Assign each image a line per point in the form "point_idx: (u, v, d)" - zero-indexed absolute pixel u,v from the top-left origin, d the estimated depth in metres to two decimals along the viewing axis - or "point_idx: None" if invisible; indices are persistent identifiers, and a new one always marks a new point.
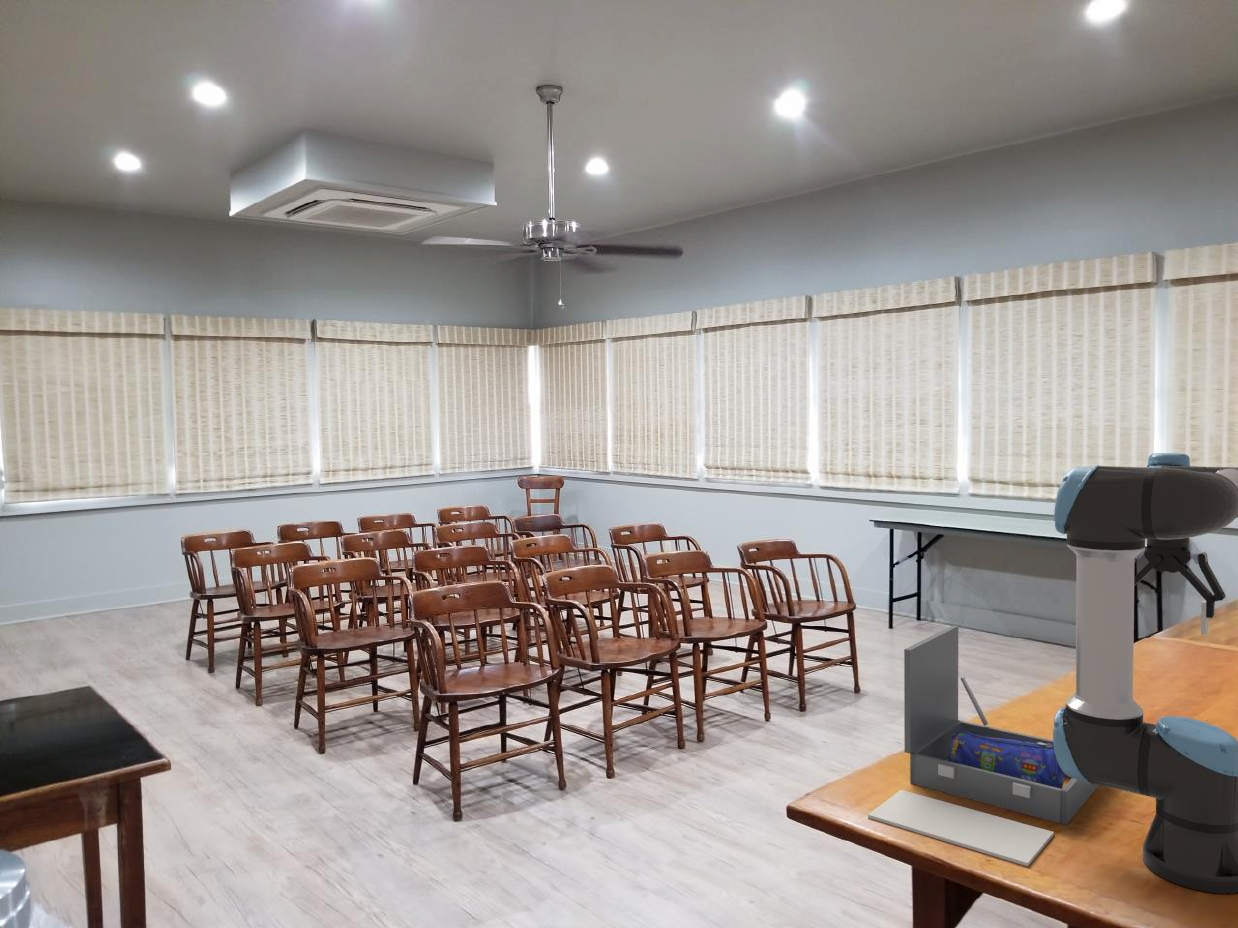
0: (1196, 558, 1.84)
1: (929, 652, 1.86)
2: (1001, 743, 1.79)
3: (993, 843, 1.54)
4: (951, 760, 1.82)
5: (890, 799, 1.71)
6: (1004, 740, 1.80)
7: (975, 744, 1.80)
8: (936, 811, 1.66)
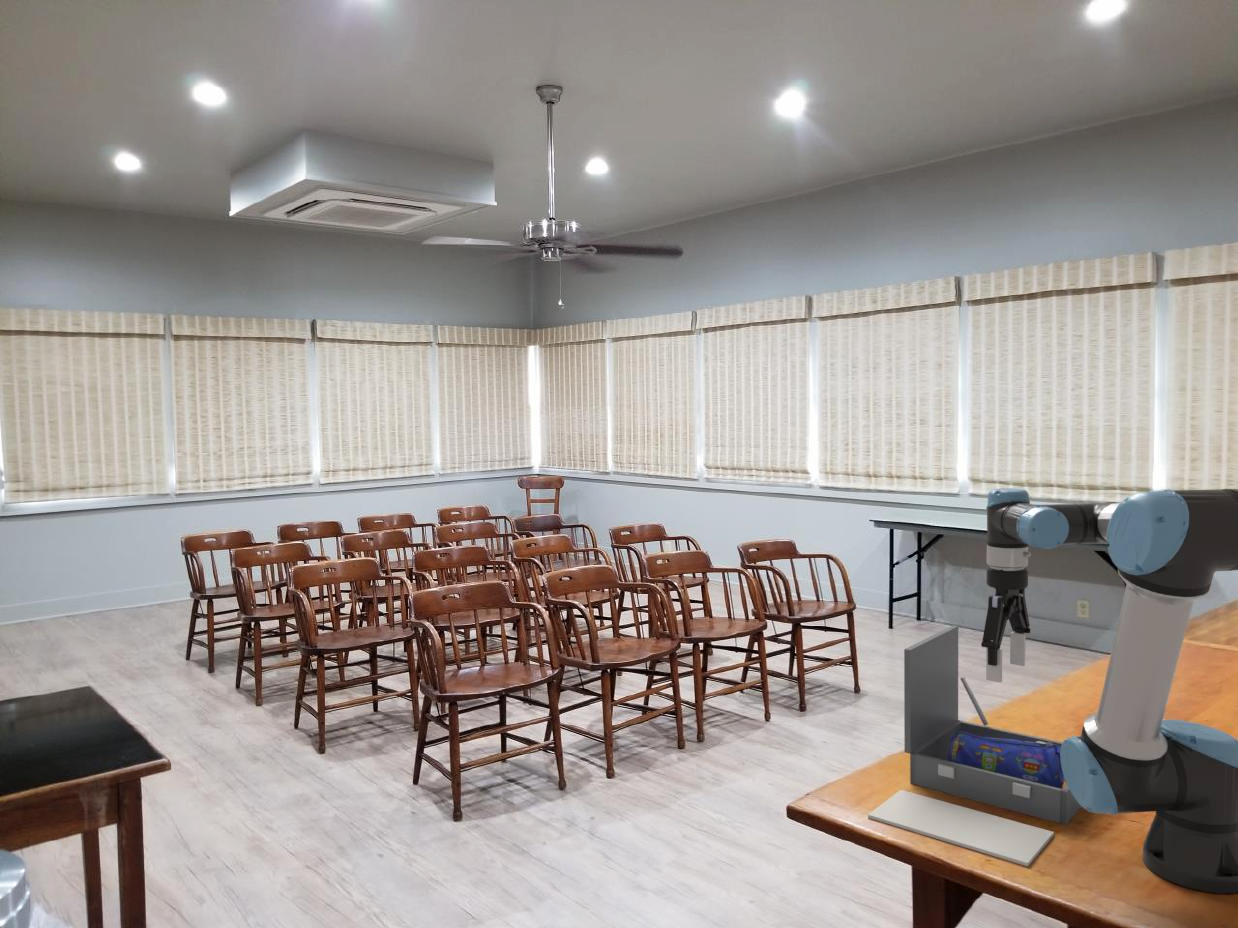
0: None
1: (929, 652, 1.86)
2: (1001, 743, 1.79)
3: (993, 843, 1.54)
4: (952, 761, 1.81)
5: (890, 799, 1.71)
6: (1004, 740, 1.80)
7: (976, 745, 1.80)
8: (936, 811, 1.66)
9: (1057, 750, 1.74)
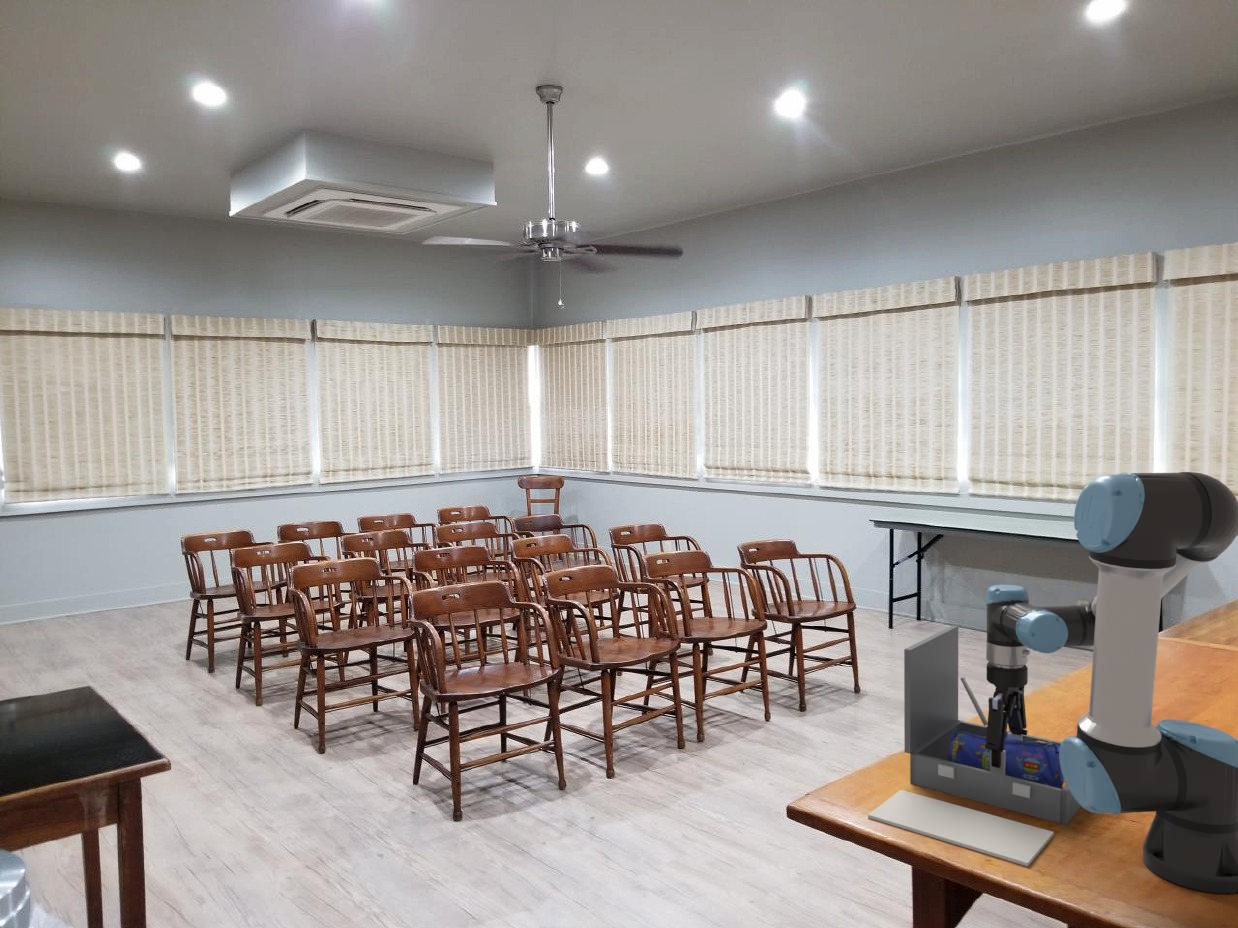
0: None
1: (929, 652, 1.86)
2: None
3: (993, 843, 1.54)
4: (952, 761, 1.81)
5: (890, 799, 1.71)
6: None
7: (976, 744, 1.80)
8: (936, 811, 1.66)
9: (1057, 749, 1.75)
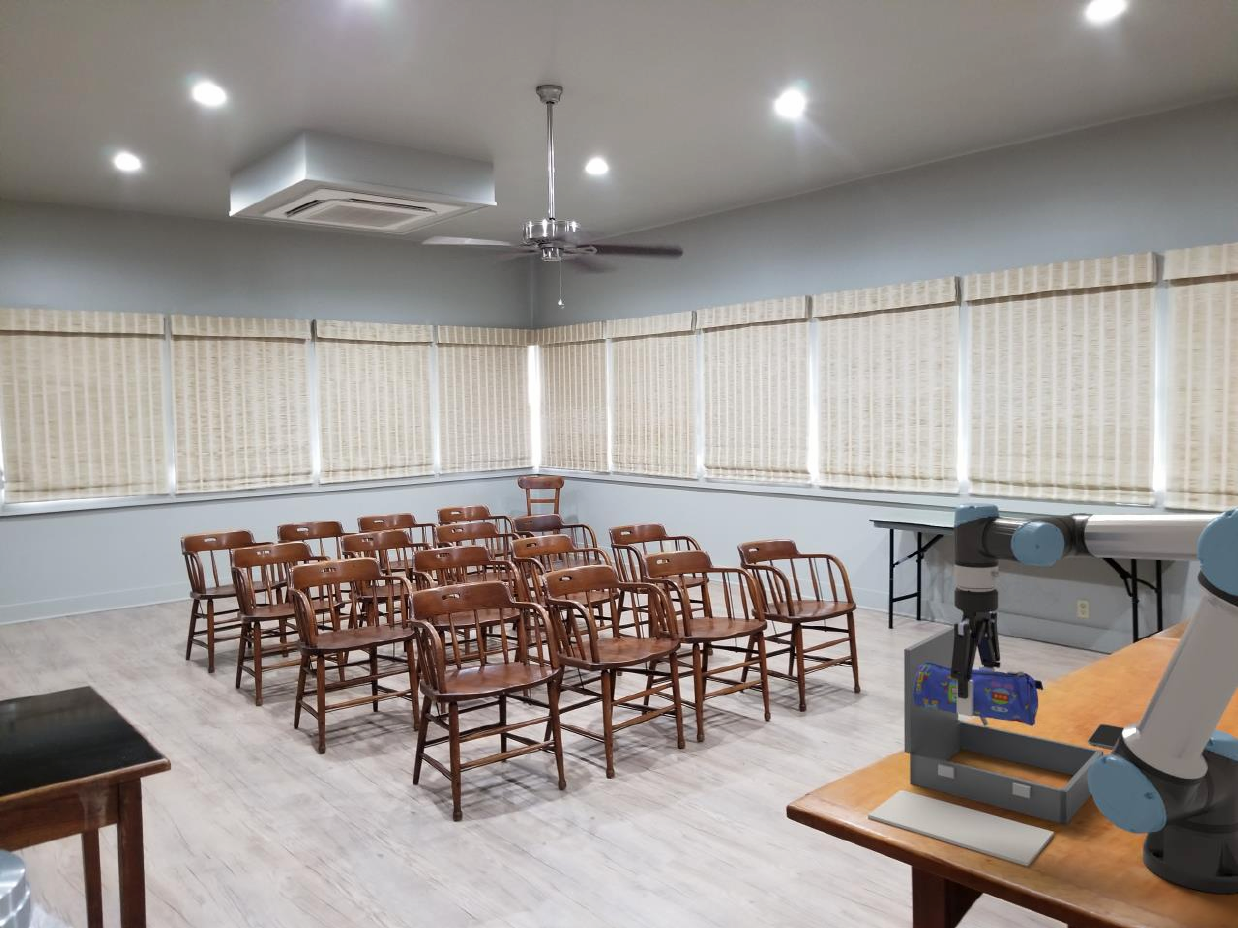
0: None
1: (929, 652, 1.86)
2: None
3: (993, 843, 1.54)
4: (916, 693, 1.68)
5: (890, 799, 1.71)
6: (973, 670, 1.66)
7: (942, 675, 1.67)
8: (936, 811, 1.66)
9: (1029, 679, 1.61)
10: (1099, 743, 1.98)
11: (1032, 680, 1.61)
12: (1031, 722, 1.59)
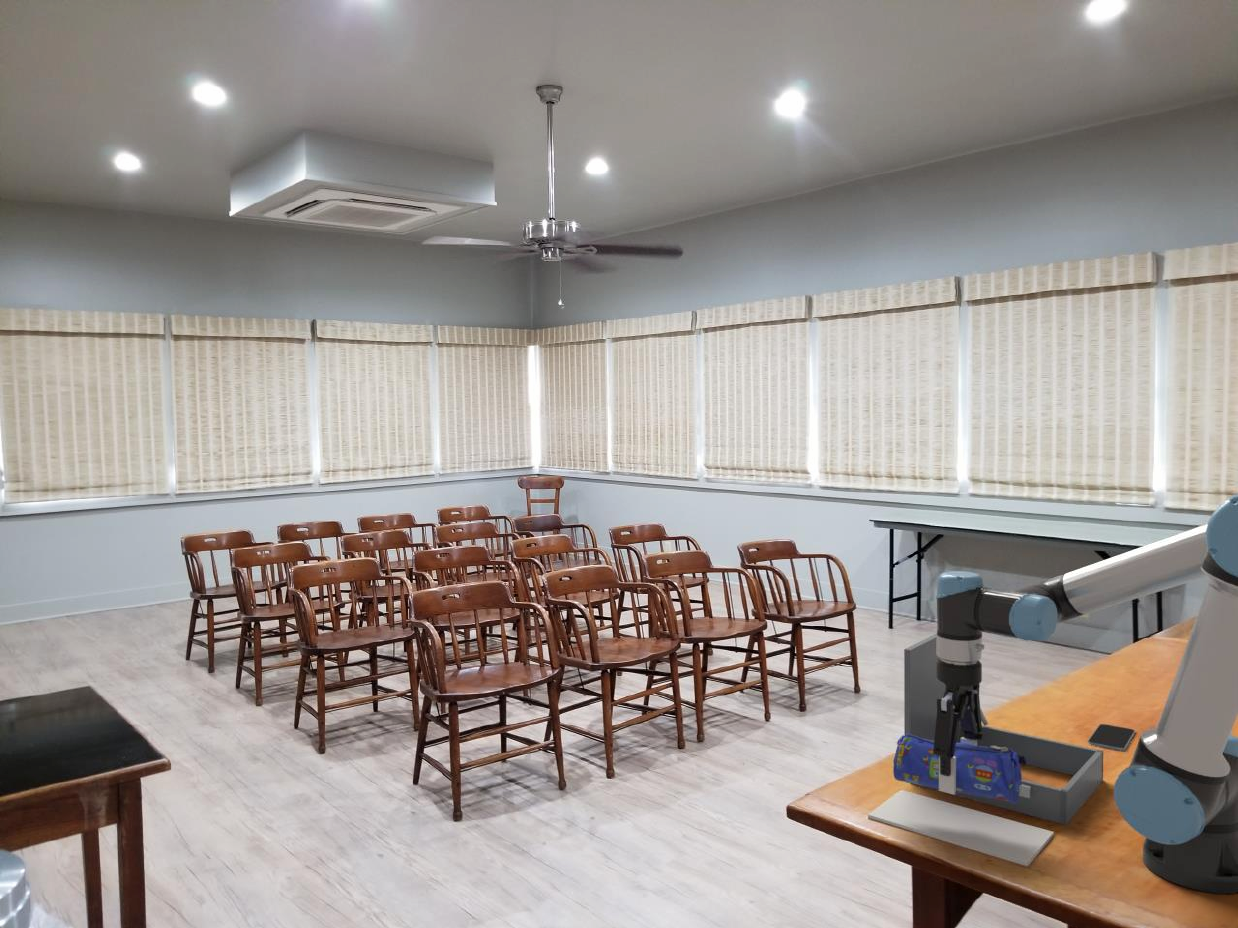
0: None
1: (929, 652, 1.86)
2: None
3: (993, 843, 1.54)
4: (897, 768, 1.62)
5: (890, 799, 1.71)
6: None
7: (923, 749, 1.61)
8: (936, 811, 1.66)
9: (1013, 756, 1.56)
10: (1099, 743, 1.98)
11: (1016, 756, 1.56)
12: (1015, 801, 1.54)
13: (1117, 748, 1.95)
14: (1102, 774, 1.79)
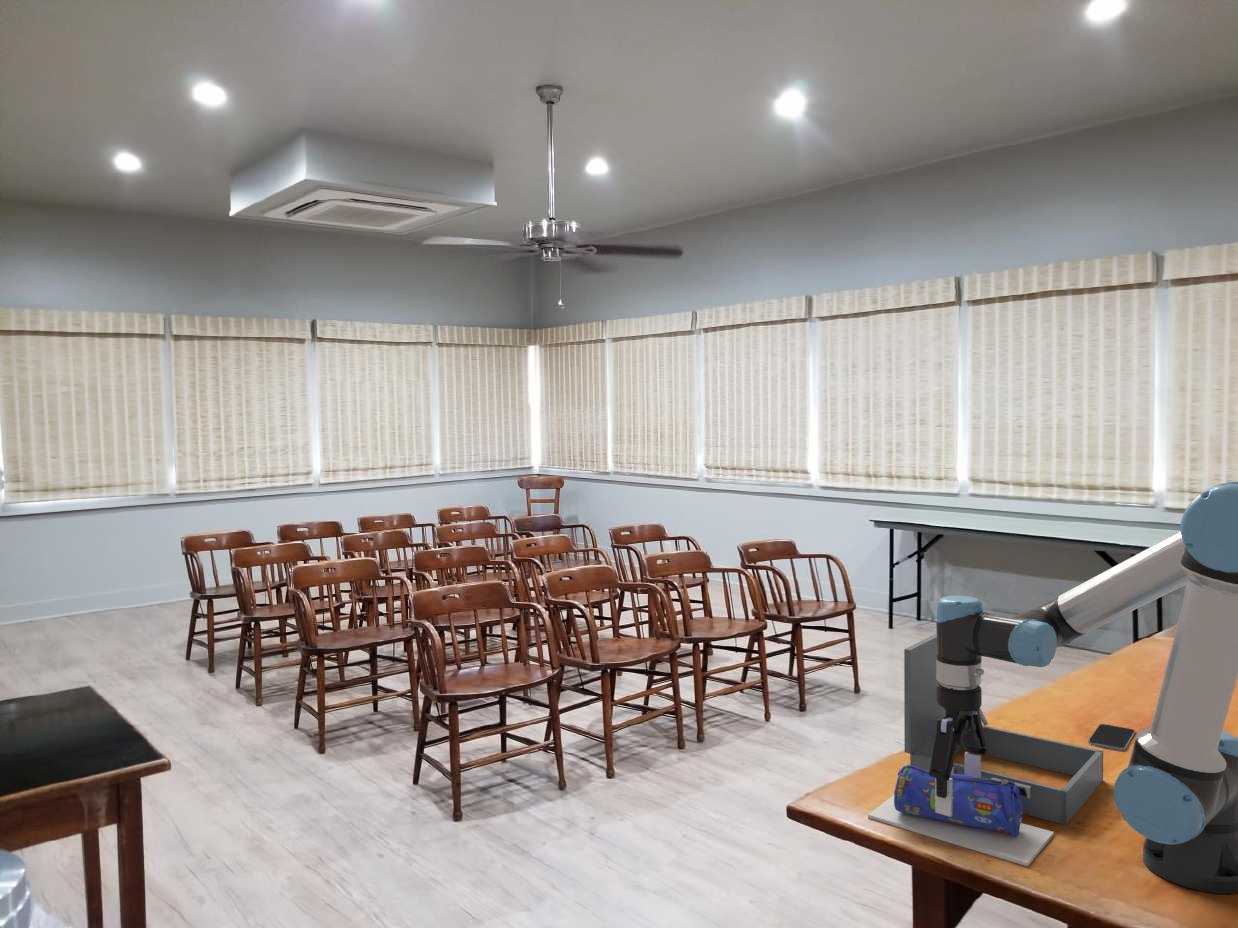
0: None
1: (929, 652, 1.86)
2: (952, 779, 1.60)
3: (993, 843, 1.54)
4: (897, 799, 1.62)
5: (890, 799, 1.71)
6: (955, 776, 1.61)
7: (924, 781, 1.61)
8: None
9: (1013, 789, 1.56)
10: (1099, 743, 1.98)
11: (1016, 789, 1.56)
12: (1015, 834, 1.54)
13: (1117, 748, 1.95)
14: (1102, 774, 1.79)
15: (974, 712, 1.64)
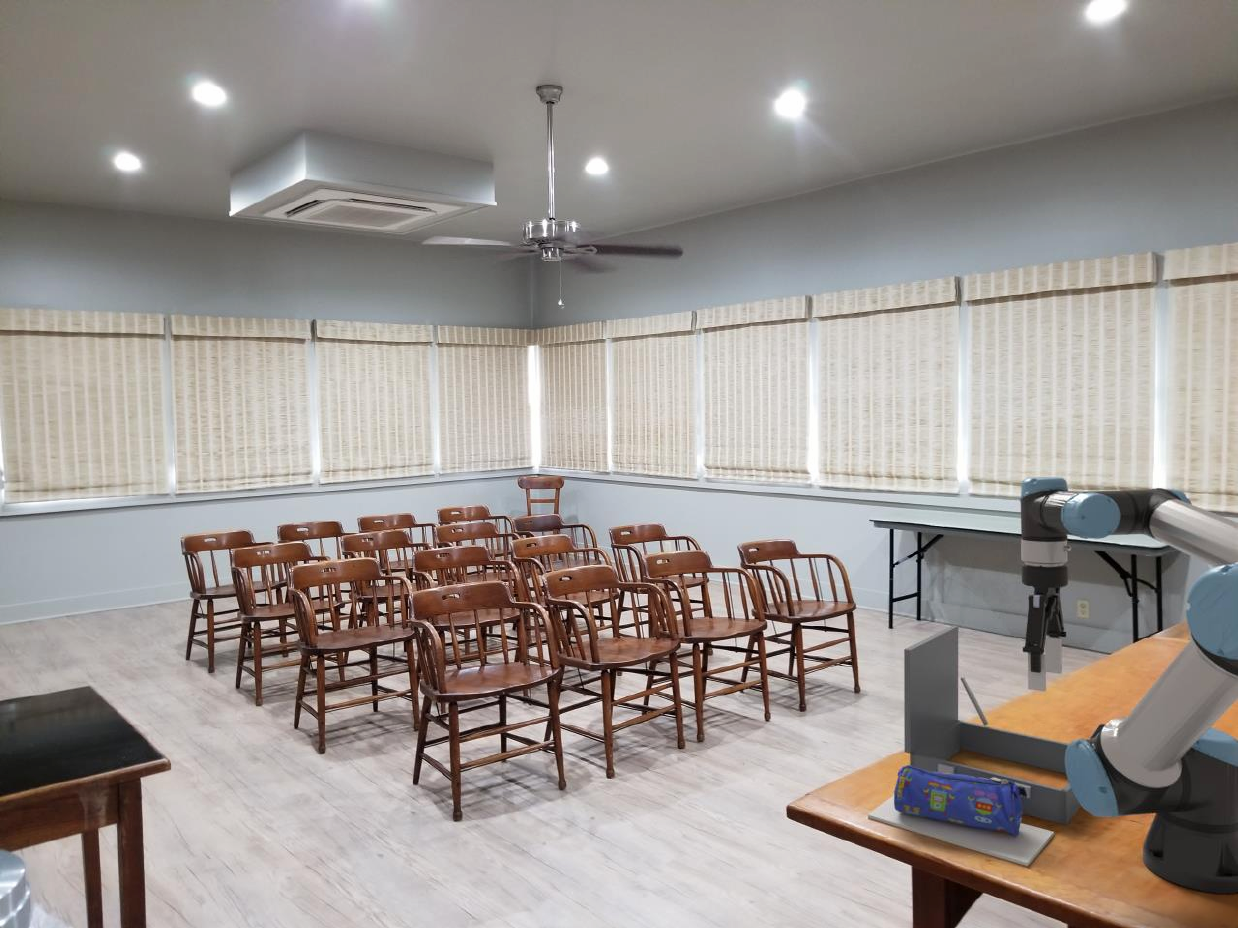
0: None
1: (929, 652, 1.86)
2: (952, 779, 1.60)
3: (993, 843, 1.54)
4: (897, 799, 1.62)
5: (890, 799, 1.71)
6: (955, 776, 1.61)
7: (924, 781, 1.61)
8: None
9: (1013, 788, 1.56)
10: None
11: (1016, 789, 1.56)
12: (1015, 833, 1.54)
13: None
14: None
15: (1056, 594, 1.65)
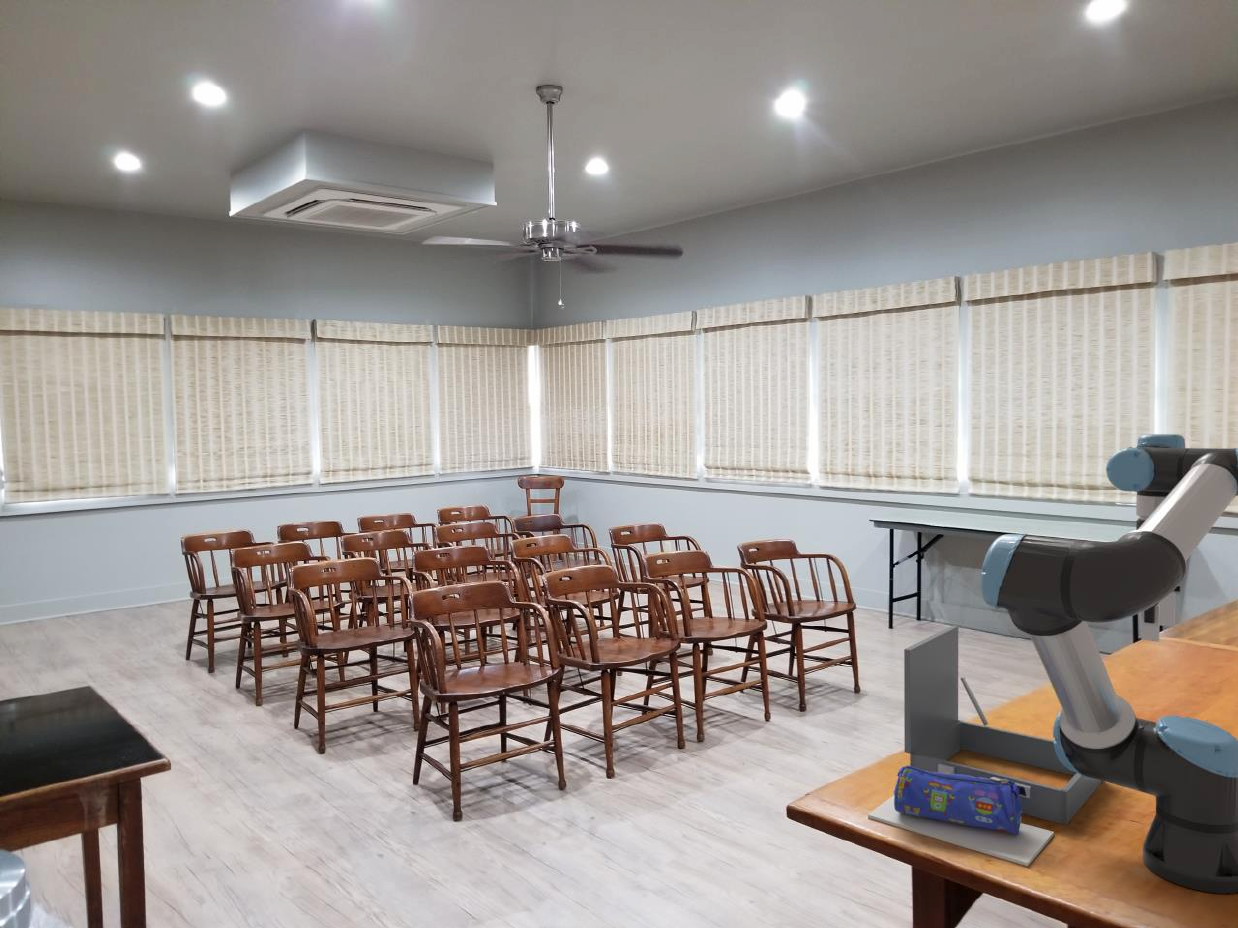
0: None
1: (929, 652, 1.86)
2: (952, 779, 1.60)
3: (993, 843, 1.54)
4: (898, 800, 1.62)
5: (890, 799, 1.71)
6: (955, 776, 1.61)
7: (924, 781, 1.61)
8: None
9: (1013, 788, 1.56)
10: None
11: (1016, 788, 1.56)
12: (1016, 833, 1.54)
13: None
14: None
15: None
